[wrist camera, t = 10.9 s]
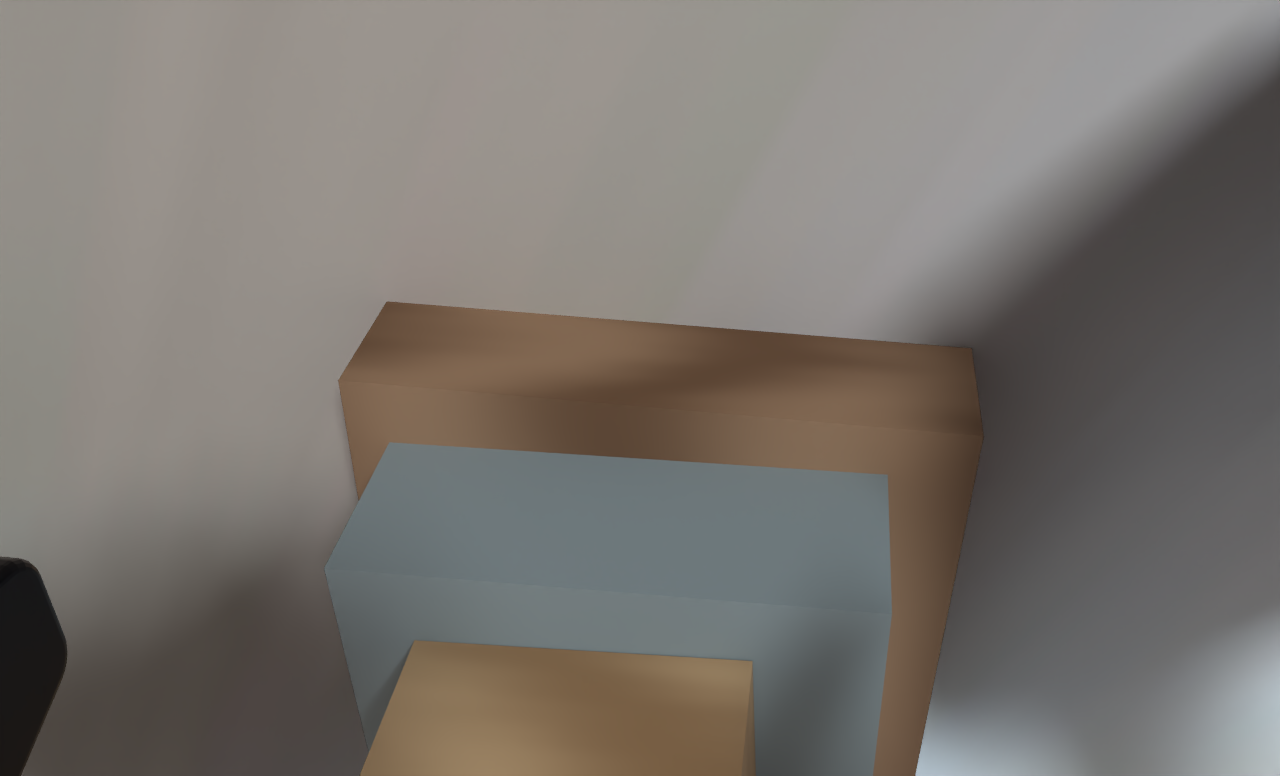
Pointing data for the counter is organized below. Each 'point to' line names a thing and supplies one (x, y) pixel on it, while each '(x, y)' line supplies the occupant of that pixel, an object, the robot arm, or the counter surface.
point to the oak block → (564, 714)
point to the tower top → (631, 579)
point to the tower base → (702, 430)
